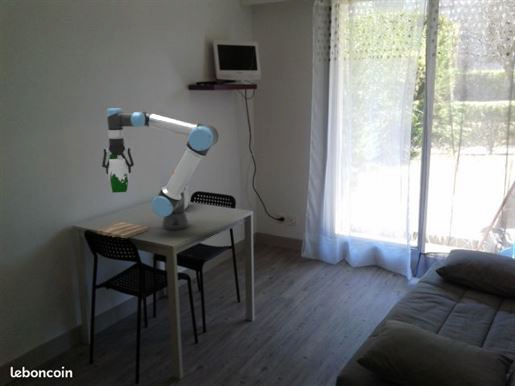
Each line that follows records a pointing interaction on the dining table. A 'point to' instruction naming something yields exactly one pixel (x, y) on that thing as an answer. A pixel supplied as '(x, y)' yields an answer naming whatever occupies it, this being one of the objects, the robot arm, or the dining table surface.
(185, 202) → the game box
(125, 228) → the wooden cutting board
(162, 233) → the dining table surface
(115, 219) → the dining table surface
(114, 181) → the soya milk
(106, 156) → the robot arm
